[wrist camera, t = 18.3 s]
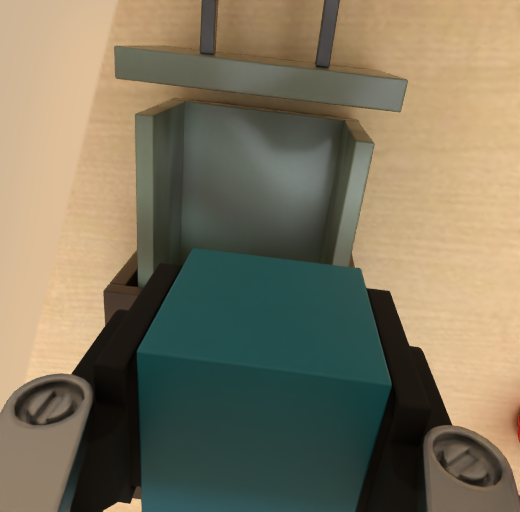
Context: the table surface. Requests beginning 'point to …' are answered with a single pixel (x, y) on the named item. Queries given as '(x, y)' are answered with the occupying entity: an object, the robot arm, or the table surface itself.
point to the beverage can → (518, 426)
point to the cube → (259, 388)
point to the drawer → (251, 152)
